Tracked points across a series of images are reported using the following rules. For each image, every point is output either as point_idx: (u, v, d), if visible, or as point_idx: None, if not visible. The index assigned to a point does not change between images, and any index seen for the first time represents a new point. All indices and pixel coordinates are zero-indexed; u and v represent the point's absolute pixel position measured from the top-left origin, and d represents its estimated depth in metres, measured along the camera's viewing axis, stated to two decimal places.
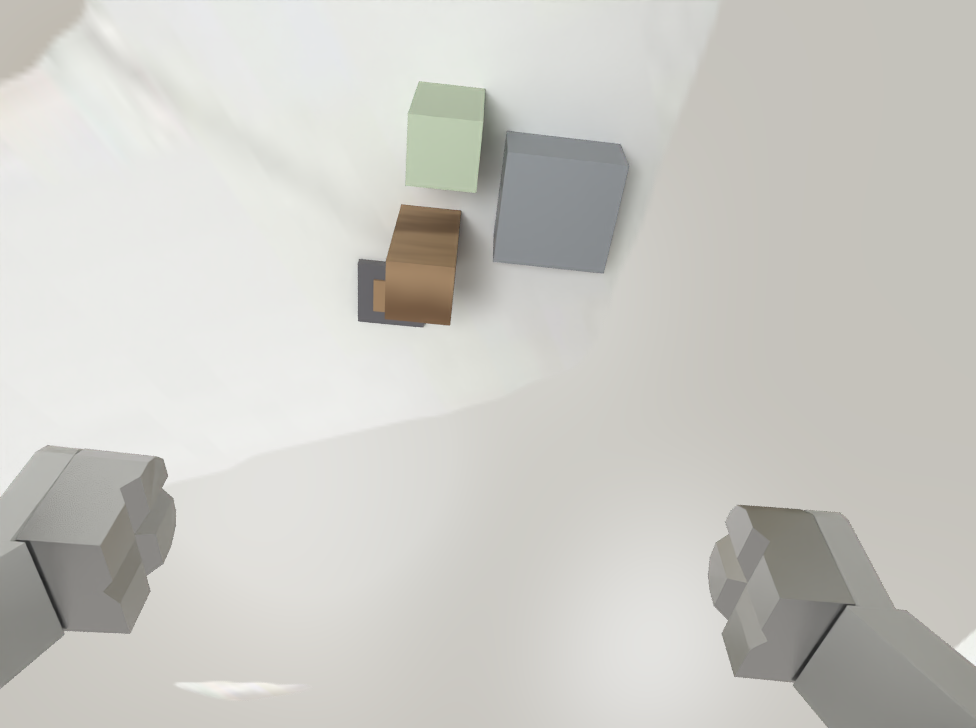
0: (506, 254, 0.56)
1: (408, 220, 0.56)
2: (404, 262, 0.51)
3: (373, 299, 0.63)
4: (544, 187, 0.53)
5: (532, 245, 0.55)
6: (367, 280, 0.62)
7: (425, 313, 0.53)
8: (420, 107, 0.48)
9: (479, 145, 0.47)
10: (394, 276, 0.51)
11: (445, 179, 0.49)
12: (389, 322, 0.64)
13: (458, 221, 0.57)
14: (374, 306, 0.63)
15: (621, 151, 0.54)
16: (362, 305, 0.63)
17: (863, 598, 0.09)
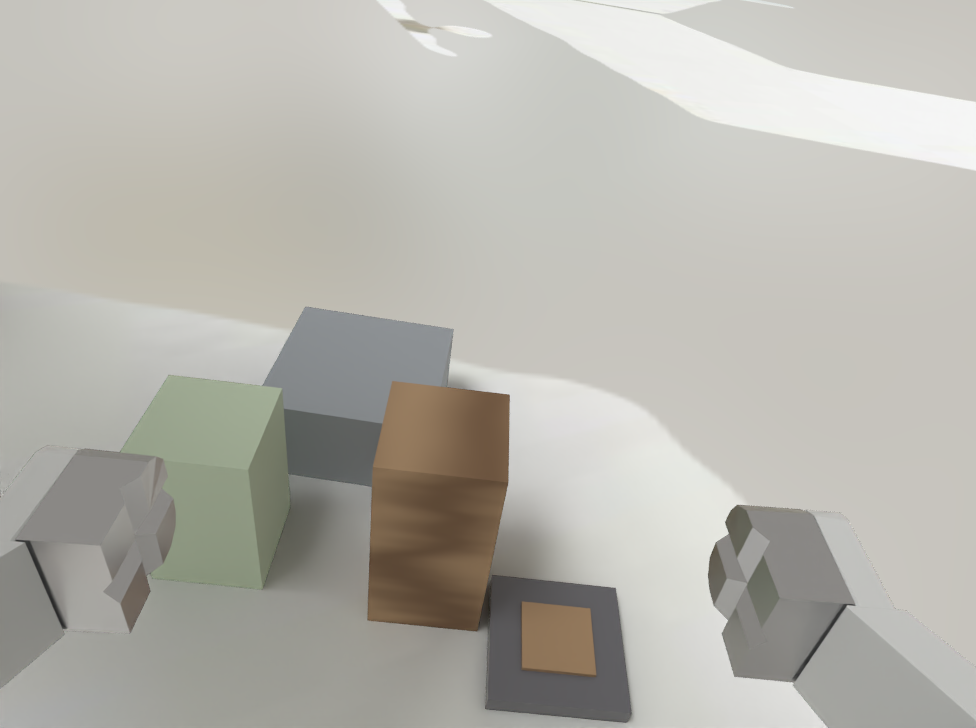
0: None
1: None
2: (378, 442, 0.27)
3: (568, 673, 0.30)
4: (316, 372, 0.37)
5: None
6: (526, 683, 0.29)
7: (488, 423, 0.28)
8: None
9: (204, 380, 0.31)
10: (407, 457, 0.26)
11: (250, 419, 0.30)
12: (619, 648, 0.31)
13: None
14: (584, 671, 0.30)
15: None
16: (589, 699, 0.29)
17: (863, 598, 0.09)
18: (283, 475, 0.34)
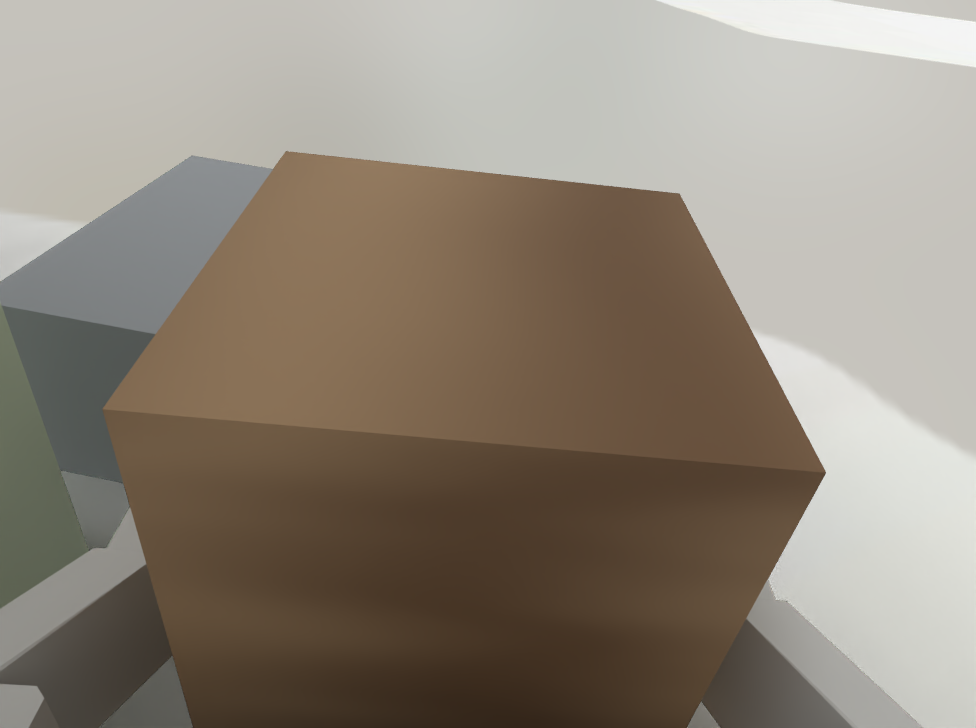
0: None
1: None
2: (179, 313, 0.06)
3: None
4: (160, 252, 0.17)
5: None
6: None
7: (638, 256, 0.07)
8: None
9: None
10: (303, 367, 0.05)
11: None
12: None
13: None
14: None
15: None
16: None
17: None
18: (35, 490, 0.13)
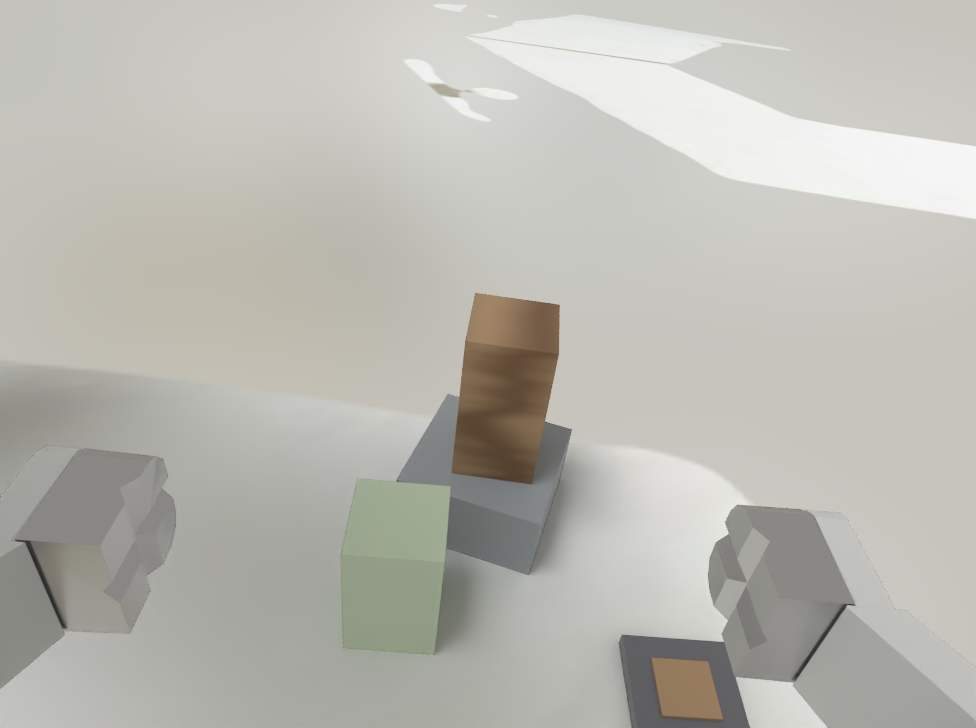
0: (531, 509, 0.42)
1: None
2: (468, 328, 0.38)
3: (700, 718, 0.36)
4: (450, 457, 0.44)
5: None
6: None
7: (544, 320, 0.40)
8: None
9: (387, 482, 0.38)
10: (488, 337, 0.38)
11: (433, 516, 0.36)
12: (736, 695, 0.38)
13: None
14: (713, 716, 0.36)
15: None
16: None
17: (863, 598, 0.09)
18: None
